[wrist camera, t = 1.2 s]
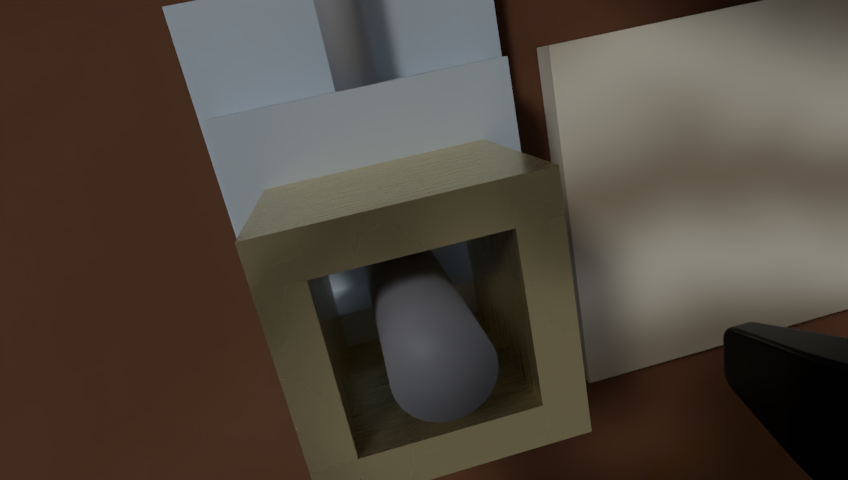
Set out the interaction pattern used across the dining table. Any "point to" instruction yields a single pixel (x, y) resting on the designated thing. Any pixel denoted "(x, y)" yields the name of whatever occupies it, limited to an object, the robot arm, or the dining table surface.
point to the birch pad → (702, 176)
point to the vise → (360, 150)
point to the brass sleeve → (364, 363)
